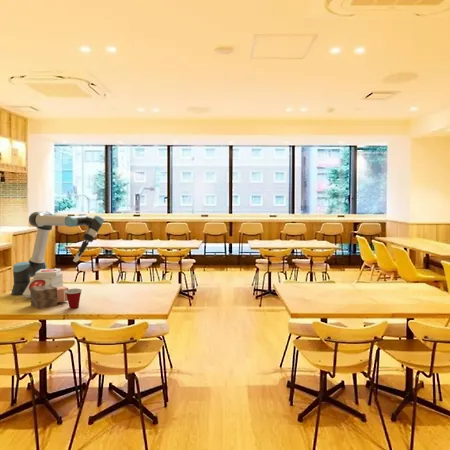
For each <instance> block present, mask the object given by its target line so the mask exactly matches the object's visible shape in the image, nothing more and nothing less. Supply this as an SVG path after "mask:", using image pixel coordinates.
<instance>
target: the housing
mask: <svg viewBox="0 0 450 450" xmlns="http://www.w3.org/2000/svg"><path fill="white" fill-rule="evenodd" d="M30 293H31V298H30V305H31V306H32V307H34V308H35V309H37V310H40V309H45V308H49V307H50V308H51V306H52V307H56V306H58V303H57V288H56V287H53V286H51V285H45V286H39V287H32V288H30Z"/></svg>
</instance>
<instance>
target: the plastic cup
mask: <svg viewBox="0 0 450 450" xmlns="http://www.w3.org/2000/svg"><path fill="white" fill-rule="evenodd" d="M82 291H83V290H82V289H81V288H70V289H69V288H68V290H66V291H65V293H66V295H67V299H68V301H67V303H68V306H69V309H70V308H71V310H72V309H78V308H79V306H80V301H81V300H80V299H81V295H82Z"/></svg>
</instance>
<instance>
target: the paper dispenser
mask: <svg viewBox="0 0 450 450" xmlns="http://www.w3.org/2000/svg"><path fill="white" fill-rule="evenodd" d="M45 285H51V286H53V287H59V286H64V282H63V272H61V268H47V269H40V270H39V271H37V272H36V273H35V276H33V277H32V278H30V283H29V284H28V286H27V288H26V290H25V291H24V293H23V295H22V297H24V298H29V299H31V293H30V288H32V287H39V286H45Z"/></svg>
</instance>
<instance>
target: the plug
mask: <svg viewBox="0 0 450 450" xmlns="http://www.w3.org/2000/svg"><path fill="white" fill-rule="evenodd" d="M56 288H57V304H58V303H61V302H68V299H67V295H66V293H65V291H66V290H68V289H69V287H66V286H64V285H63V286H59V287H56Z"/></svg>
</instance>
